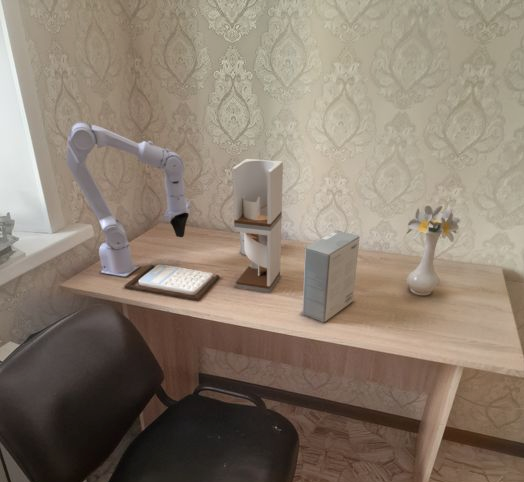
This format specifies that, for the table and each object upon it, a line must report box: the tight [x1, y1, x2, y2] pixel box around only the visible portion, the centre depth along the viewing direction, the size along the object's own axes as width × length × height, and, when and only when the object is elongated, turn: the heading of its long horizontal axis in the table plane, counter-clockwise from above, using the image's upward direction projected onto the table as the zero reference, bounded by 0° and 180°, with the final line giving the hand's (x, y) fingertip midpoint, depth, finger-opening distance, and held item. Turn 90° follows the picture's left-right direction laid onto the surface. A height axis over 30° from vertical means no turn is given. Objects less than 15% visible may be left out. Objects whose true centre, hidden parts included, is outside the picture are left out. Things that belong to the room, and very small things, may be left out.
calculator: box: [138, 264, 214, 296], centre depth 144 cm, size 13×20×2 cm, turn 70°
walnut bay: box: [123, 264, 221, 302], centre depth 144 cm, size 25×16×1 cm, turn 71°
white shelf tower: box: [231, 158, 284, 293], centre depth 135 cm, size 11×11×35 cm
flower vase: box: [406, 205, 461, 297], centre depth 133 cm, size 13×18×25 cm
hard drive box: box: [302, 229, 360, 323], centre depth 126 cm, size 16×8×20 cm, turn 141°
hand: (180, 236), depth 151 cm, fingers closed
